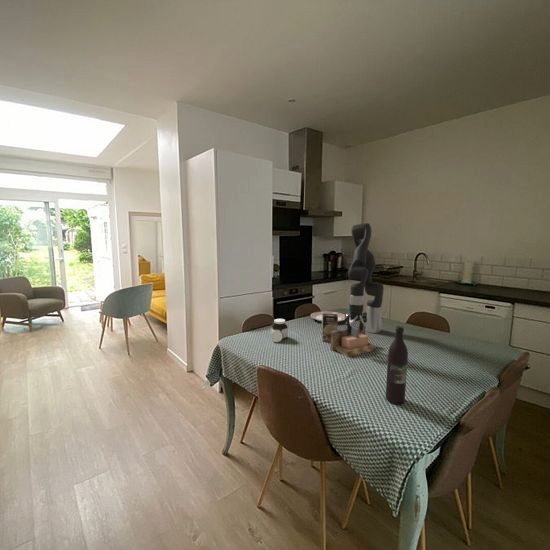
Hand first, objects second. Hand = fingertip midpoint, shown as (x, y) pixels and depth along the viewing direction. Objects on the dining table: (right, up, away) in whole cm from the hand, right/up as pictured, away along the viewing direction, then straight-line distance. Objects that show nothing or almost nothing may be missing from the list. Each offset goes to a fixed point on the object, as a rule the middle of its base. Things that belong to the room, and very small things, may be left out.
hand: (355, 331), depth 166 cm
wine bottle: (+3, -18, -48) cm, 52 cm away
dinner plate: (-4, -3, +60) cm, 60 cm away
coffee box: (-12, -9, +17) cm, 22 cm away
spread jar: (-43, -9, +18) cm, 47 cm away
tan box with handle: (0, -11, +2) cm, 11 cm away
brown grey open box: (0, -11, +2) cm, 11 cm away
